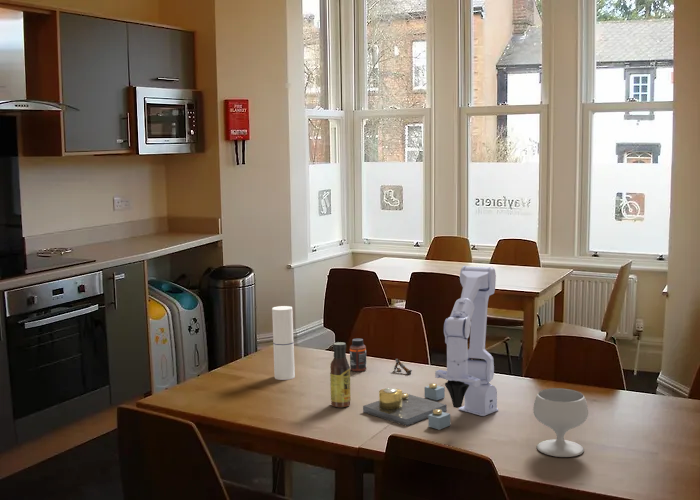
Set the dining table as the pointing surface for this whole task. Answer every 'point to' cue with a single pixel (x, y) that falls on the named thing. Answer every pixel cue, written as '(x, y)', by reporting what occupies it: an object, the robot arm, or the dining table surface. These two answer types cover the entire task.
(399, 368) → the brown angled frame
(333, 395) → the sauce bottle
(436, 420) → the block with brass knob
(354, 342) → the supplement bottle
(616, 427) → the dining table surface
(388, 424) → the dining table surface
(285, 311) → the cylindrical container
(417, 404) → the base
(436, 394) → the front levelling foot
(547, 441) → the chalice
